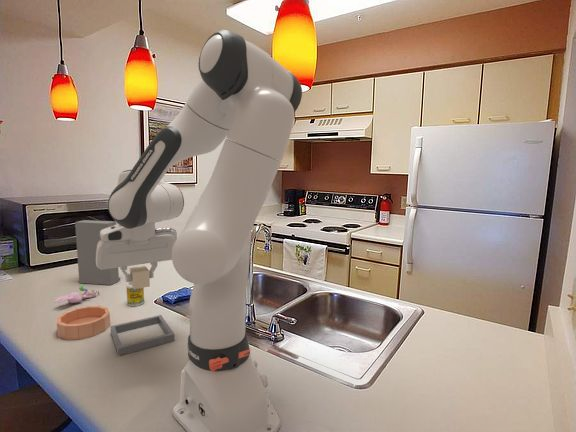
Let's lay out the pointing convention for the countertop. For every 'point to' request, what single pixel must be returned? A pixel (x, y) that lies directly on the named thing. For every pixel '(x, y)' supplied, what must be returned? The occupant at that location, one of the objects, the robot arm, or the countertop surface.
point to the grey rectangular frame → (144, 343)
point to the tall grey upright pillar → (92, 253)
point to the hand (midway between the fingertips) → (139, 279)
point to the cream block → (140, 277)
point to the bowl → (83, 322)
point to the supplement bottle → (134, 295)
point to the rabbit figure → (77, 296)
